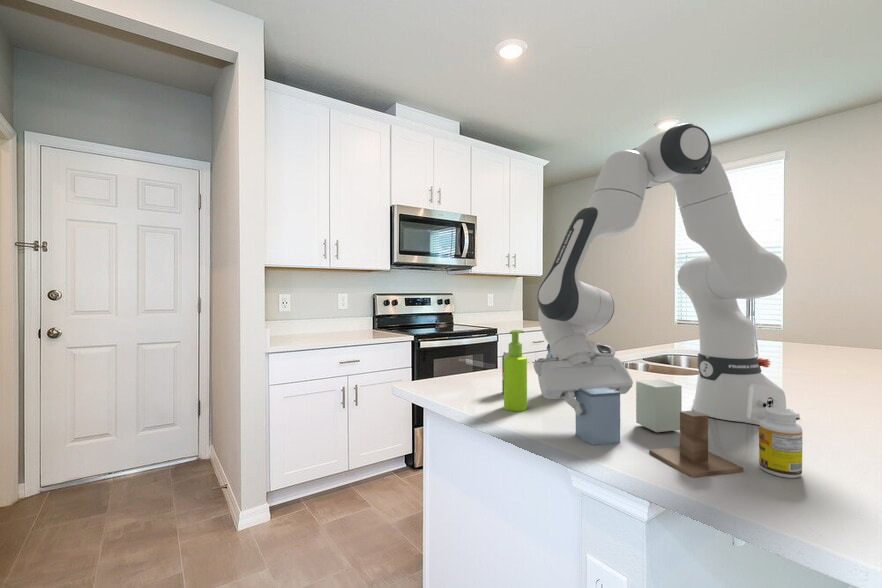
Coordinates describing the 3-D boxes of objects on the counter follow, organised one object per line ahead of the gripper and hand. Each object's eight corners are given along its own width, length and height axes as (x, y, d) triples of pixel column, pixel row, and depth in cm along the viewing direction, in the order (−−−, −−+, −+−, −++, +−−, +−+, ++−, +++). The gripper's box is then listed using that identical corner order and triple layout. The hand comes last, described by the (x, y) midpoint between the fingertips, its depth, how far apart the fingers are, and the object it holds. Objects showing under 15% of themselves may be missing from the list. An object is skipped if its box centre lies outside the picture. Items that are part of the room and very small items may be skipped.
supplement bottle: (759, 461, 72) (759, 404, 72) (801, 470, 69) (801, 410, 68) (757, 473, 68) (758, 411, 68) (802, 483, 64) (802, 418, 64)
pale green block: (660, 423, 93) (660, 379, 93) (681, 432, 87) (681, 385, 87) (636, 425, 92) (636, 380, 92) (656, 435, 86) (655, 387, 85)
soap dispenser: (531, 405, 107) (531, 329, 107) (522, 412, 101) (521, 332, 101) (510, 402, 110) (510, 328, 110) (500, 409, 105) (499, 331, 104)
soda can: (519, 395, 118) (519, 354, 117) (501, 395, 119) (501, 353, 118) (519, 391, 122) (519, 351, 122) (502, 390, 123) (502, 351, 123)
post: (695, 448, 78) (695, 403, 78) (743, 471, 68) (743, 420, 68) (649, 453, 76) (649, 407, 76) (692, 477, 66) (692, 424, 66)
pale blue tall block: (602, 431, 88) (602, 385, 88) (620, 442, 82) (620, 392, 82) (575, 434, 86) (575, 386, 86) (592, 444, 80) (592, 394, 80)
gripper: (535, 350, 89) (557, 408, 79) (619, 347, 93) (649, 401, 83) (527, 367, 93) (546, 423, 84) (607, 363, 97) (635, 416, 88)
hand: (599, 412), depth 83 cm, fingers closed on pale blue tall block, 6 cm apart
